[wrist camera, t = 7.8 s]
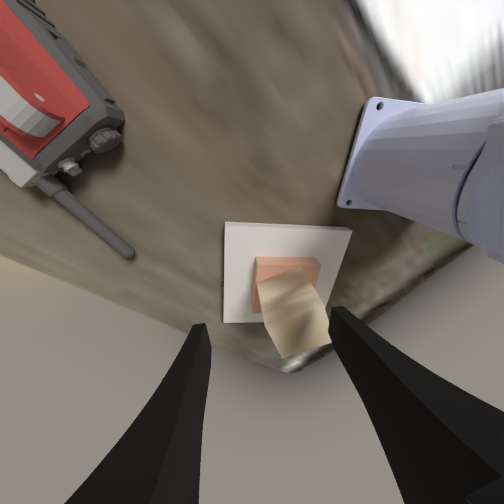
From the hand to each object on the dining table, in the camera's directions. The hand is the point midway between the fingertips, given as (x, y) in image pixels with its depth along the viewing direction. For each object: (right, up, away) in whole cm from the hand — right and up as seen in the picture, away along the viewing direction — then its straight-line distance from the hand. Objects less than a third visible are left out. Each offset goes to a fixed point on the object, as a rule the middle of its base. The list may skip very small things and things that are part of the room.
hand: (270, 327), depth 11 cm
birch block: (+2, 0, +8) cm, 8 cm away
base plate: (+2, +2, +10) cm, 10 cm away
